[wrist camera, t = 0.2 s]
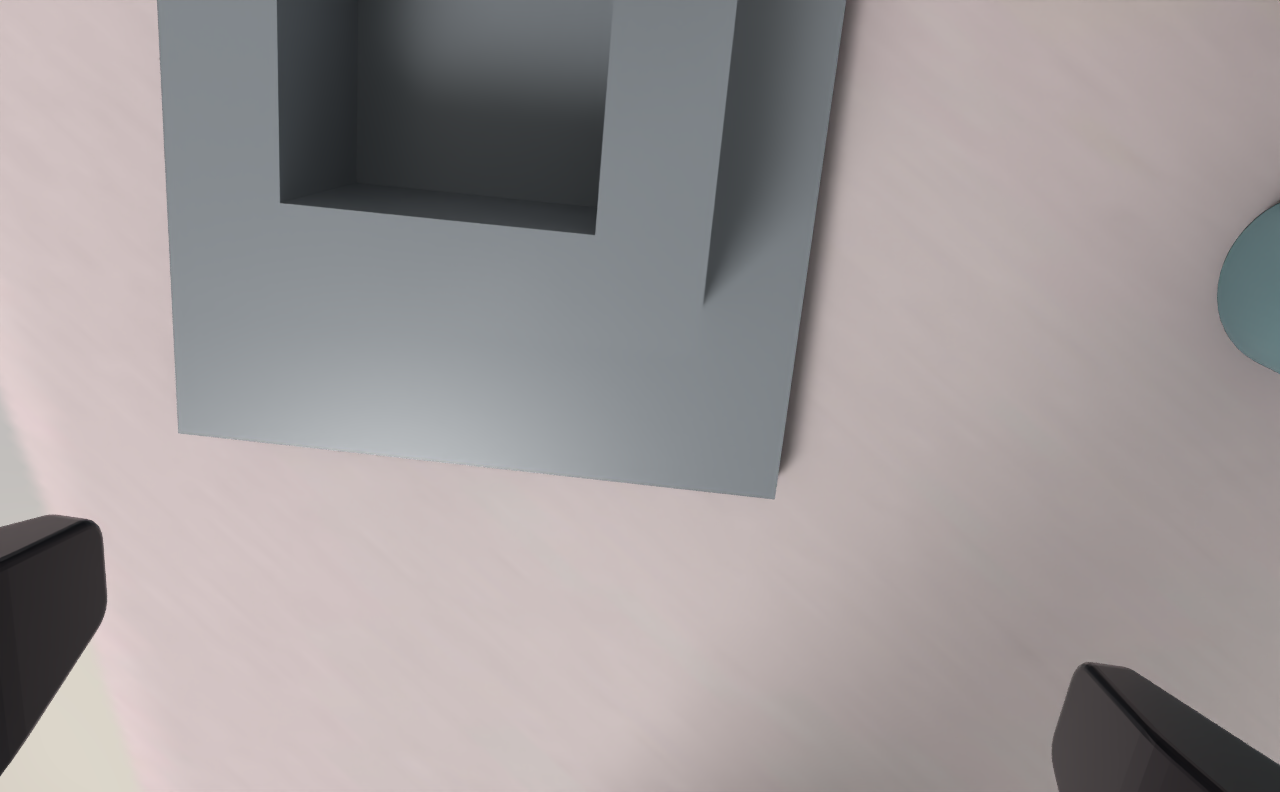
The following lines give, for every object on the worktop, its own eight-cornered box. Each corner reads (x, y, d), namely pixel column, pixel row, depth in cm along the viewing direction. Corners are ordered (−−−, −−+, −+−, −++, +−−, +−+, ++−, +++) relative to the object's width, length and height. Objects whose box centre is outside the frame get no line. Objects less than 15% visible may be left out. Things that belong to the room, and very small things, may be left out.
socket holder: (771, 483, 24) (788, 581, 19) (198, 419, 24) (74, 500, 20) (899, -416, 18) (965, -591, 14) (161, -472, 19) (-23, -661, 14)
